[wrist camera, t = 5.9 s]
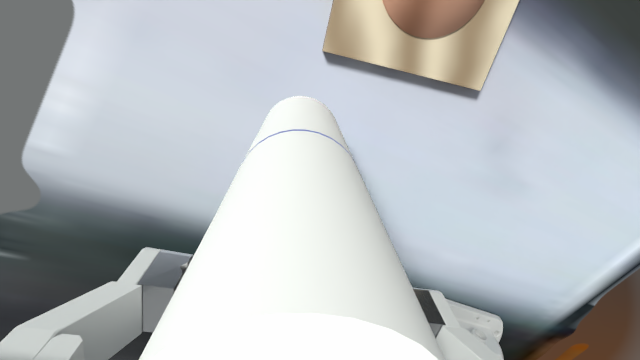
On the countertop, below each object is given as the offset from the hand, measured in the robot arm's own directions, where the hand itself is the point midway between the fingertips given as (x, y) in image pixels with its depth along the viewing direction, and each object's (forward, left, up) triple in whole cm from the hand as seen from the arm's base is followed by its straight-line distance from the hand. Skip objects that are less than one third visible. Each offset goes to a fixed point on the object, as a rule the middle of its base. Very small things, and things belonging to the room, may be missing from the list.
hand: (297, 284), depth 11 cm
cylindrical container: (0, 0, -21) cm, 21 cm away
